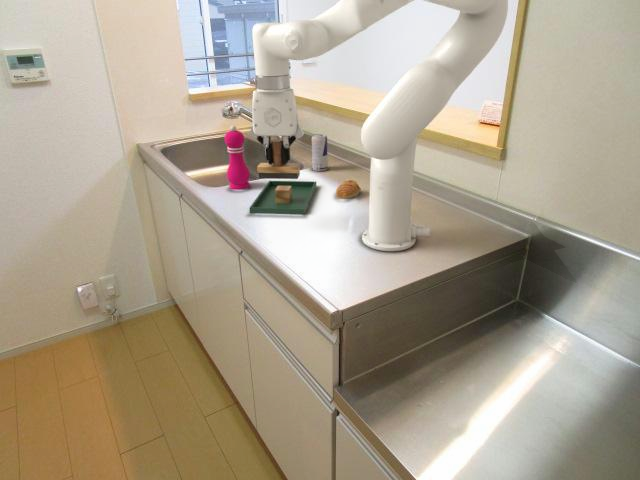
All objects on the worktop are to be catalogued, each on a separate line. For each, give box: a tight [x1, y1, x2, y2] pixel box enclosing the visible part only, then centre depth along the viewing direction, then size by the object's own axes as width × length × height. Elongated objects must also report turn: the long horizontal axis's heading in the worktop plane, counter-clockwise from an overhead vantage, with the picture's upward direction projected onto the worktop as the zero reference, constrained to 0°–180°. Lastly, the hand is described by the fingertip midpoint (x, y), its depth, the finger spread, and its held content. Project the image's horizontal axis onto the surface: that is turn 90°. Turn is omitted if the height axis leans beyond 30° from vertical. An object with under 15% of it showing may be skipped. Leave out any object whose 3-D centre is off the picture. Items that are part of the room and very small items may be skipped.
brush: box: [256, 138, 301, 180], centre depth 109 cm, size 10×4×9 cm, turn 83°
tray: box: [249, 180, 317, 216], centre depth 132 cm, size 15×23×2 cm, turn 172°
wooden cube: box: [275, 186, 292, 204], centre depth 130 cm, size 4×4×4 cm
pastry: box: [336, 179, 361, 200], centre depth 134 cm, size 9×7×4 cm
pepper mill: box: [224, 124, 251, 191], centre depth 140 cm, size 7×7×20 cm
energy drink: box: [311, 133, 329, 172], centre depth 158 cm, size 5×5×12 cm
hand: (278, 162), depth 109 cm, fingers closed on brush, 2 cm apart
